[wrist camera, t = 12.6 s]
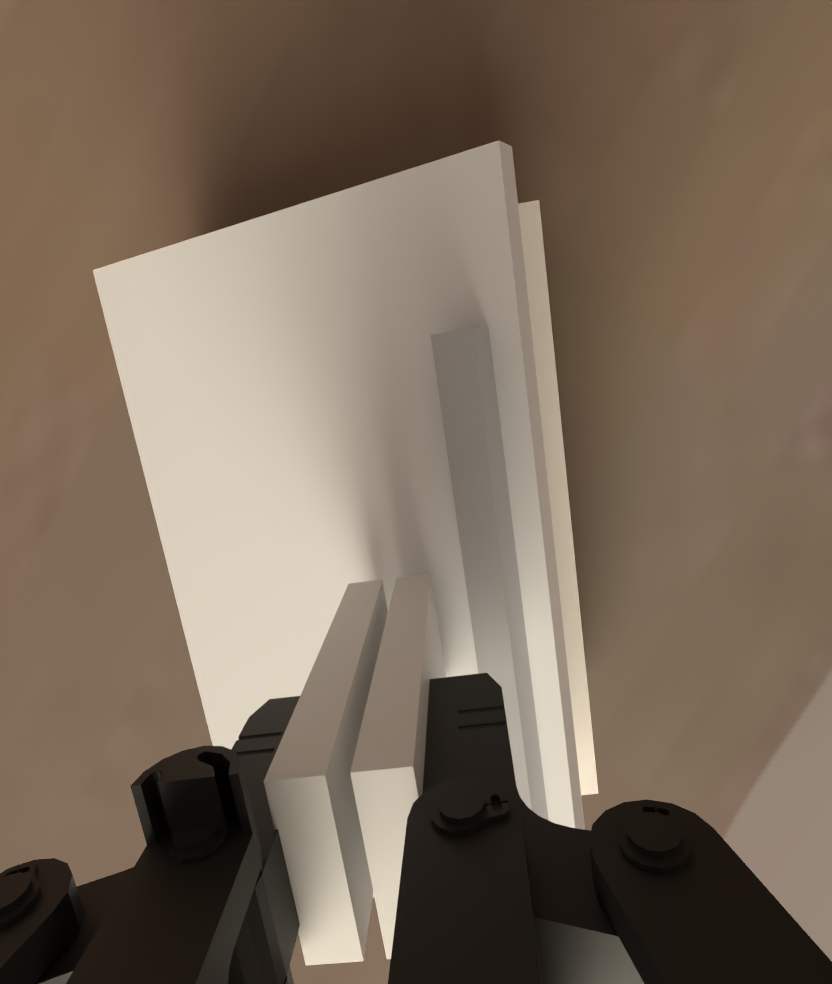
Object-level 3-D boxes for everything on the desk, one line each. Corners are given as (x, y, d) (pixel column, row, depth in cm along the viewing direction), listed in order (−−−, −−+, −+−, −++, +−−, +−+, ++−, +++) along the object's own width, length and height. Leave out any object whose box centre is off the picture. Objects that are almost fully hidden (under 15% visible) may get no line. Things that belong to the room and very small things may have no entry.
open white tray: (187, 290, 23) (101, 274, 18) (515, 236, 22) (538, 199, 17) (283, 723, 27) (239, 827, 22) (564, 693, 26) (598, 793, 21)
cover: (113, 270, 17) (63, 269, 16) (511, 146, 11) (479, 130, 10) (251, 833, 21) (219, 865, 20) (598, 957, 15) (582, 1012, 14)
